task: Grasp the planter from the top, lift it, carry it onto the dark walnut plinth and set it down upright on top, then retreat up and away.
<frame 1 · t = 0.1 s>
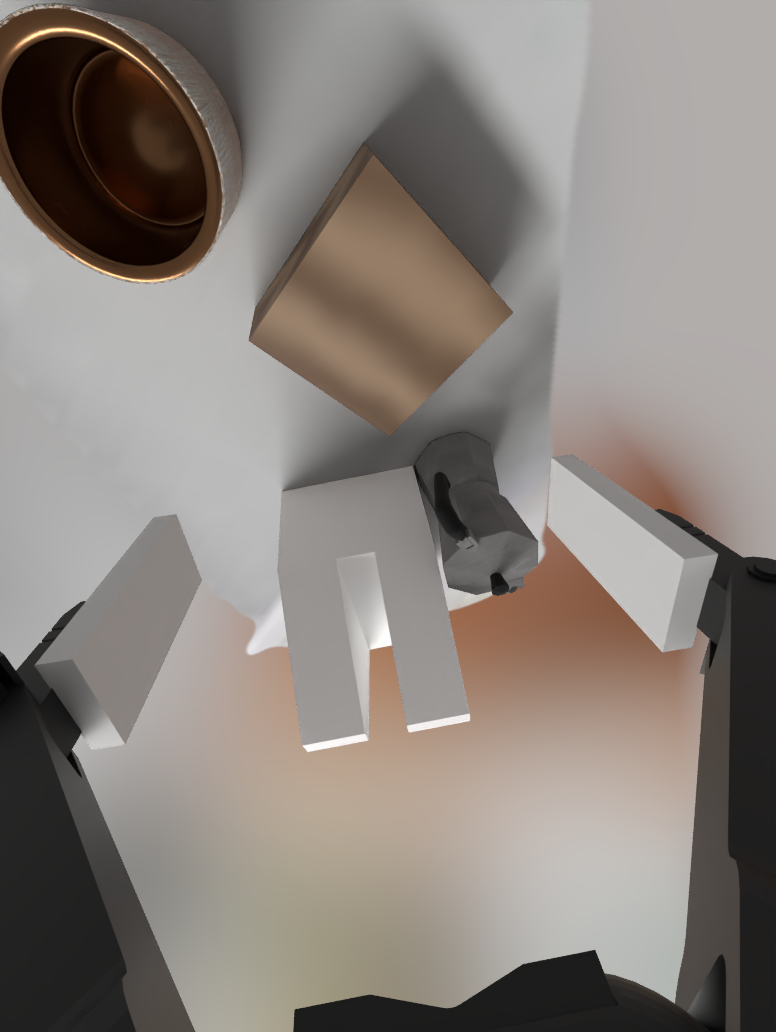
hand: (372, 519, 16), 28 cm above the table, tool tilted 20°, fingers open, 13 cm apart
planter: (156, 144, 28), on the table
white slotted block: (362, 531, 58), on the table
plinth: (374, 296, 37), on the table
coffeepot: (448, 457, 50), on the table
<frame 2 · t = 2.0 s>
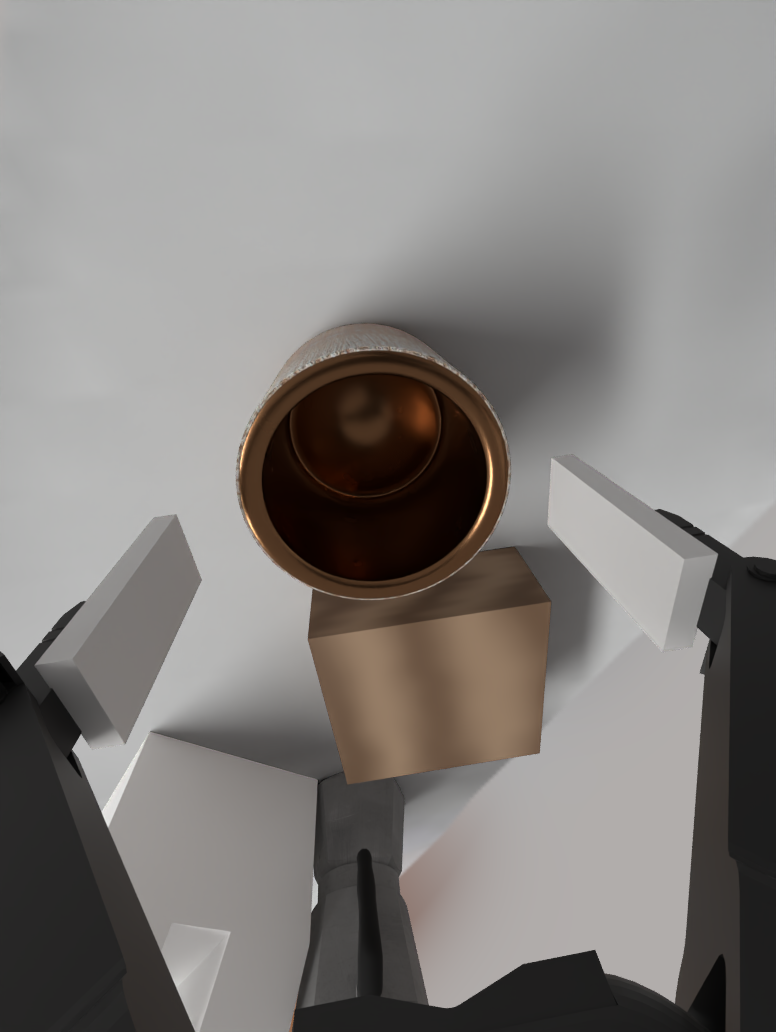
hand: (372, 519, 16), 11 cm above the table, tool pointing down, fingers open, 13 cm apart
planter: (365, 422, 26), on the table
white slotted block: (196, 812, 42), on the table
plinth: (422, 637, 33), on the table
coffeepot: (356, 788, 42), on the table
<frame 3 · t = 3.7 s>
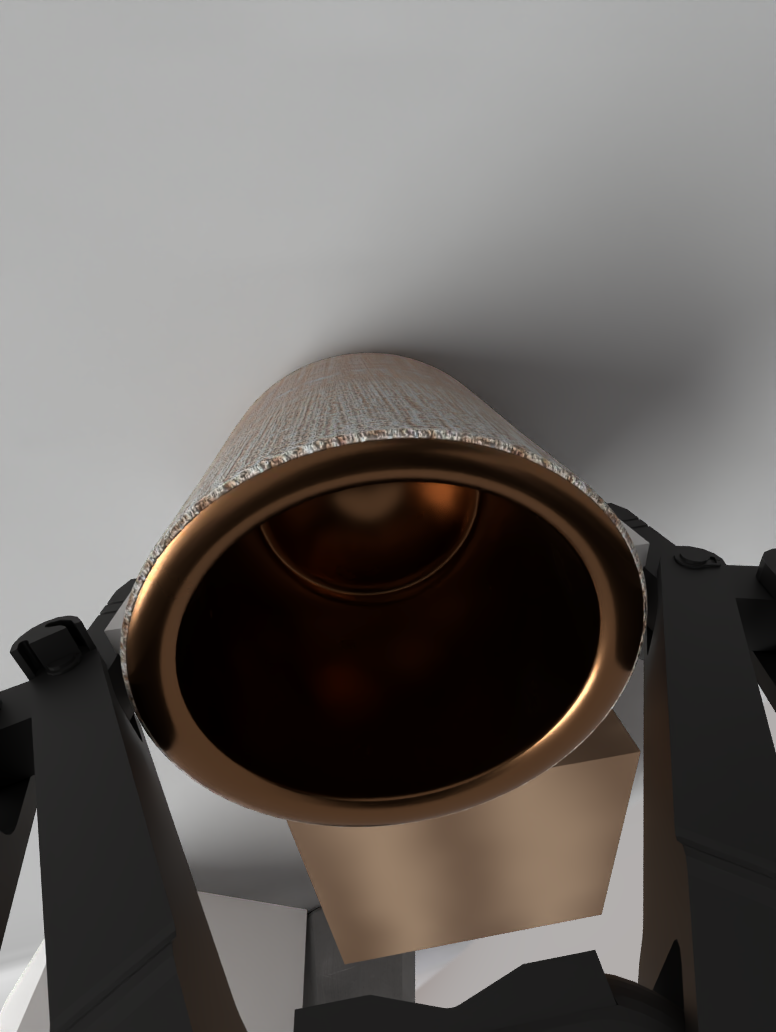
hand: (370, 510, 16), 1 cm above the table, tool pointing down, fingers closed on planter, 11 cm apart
planter: (367, 491, 18), on the table, touching gripper
white slotted block: (155, 949, 33), on the table
plinth: (442, 752, 25), on the table
coffeepot: (356, 914, 34), on the table
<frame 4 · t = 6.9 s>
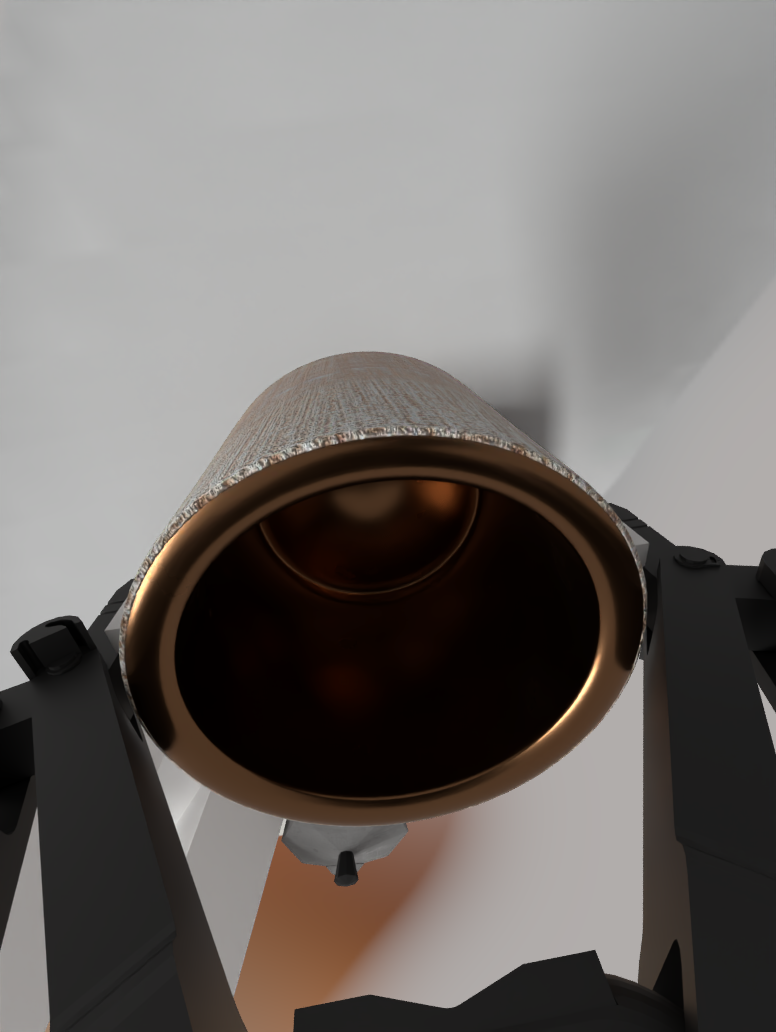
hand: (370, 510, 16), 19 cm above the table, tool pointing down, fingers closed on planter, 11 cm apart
planter: (367, 490, 18), point 17 cm above the table, touching gripper
white slotted block: (197, 693, 45), on the table
coffeepot: (344, 668, 46), on the table
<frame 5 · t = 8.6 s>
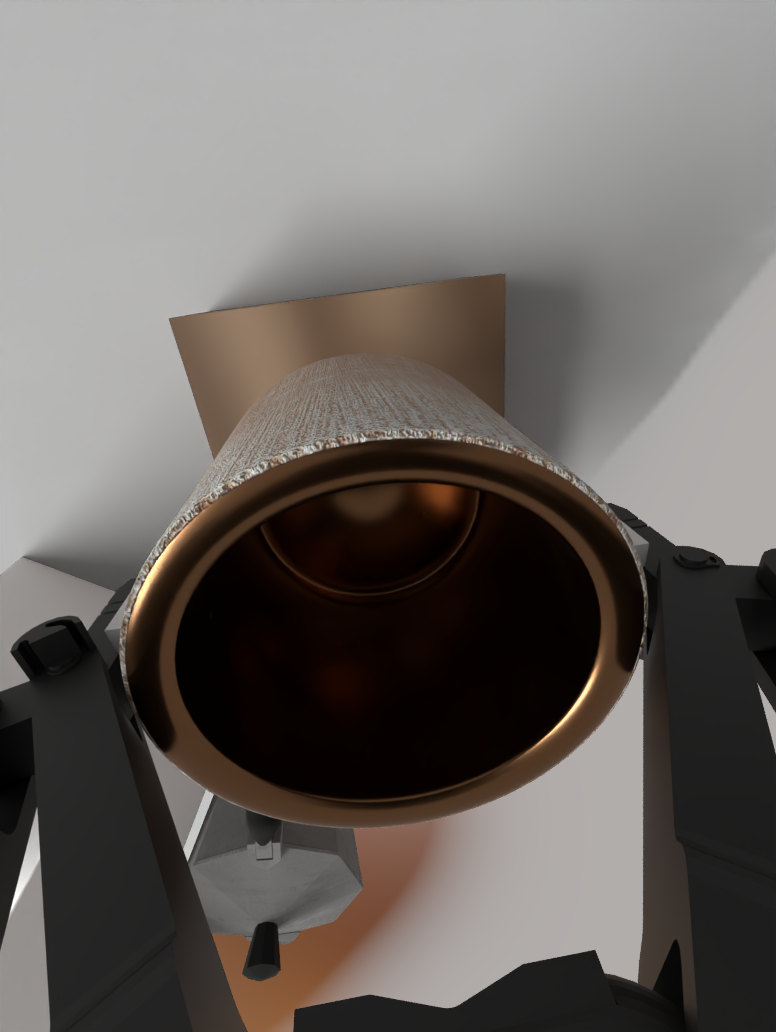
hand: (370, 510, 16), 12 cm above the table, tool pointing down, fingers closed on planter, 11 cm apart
planter: (368, 491, 18), point 10 cm above the table, touching gripper
white slotted block: (100, 685, 34), on the table
plinth: (358, 422, 27), on the table
coffeepot: (294, 656, 35), on the table
when the fingers open (9 cm above the table, at t = 10.1 s): planter drops 2 cm, resting on plinth.
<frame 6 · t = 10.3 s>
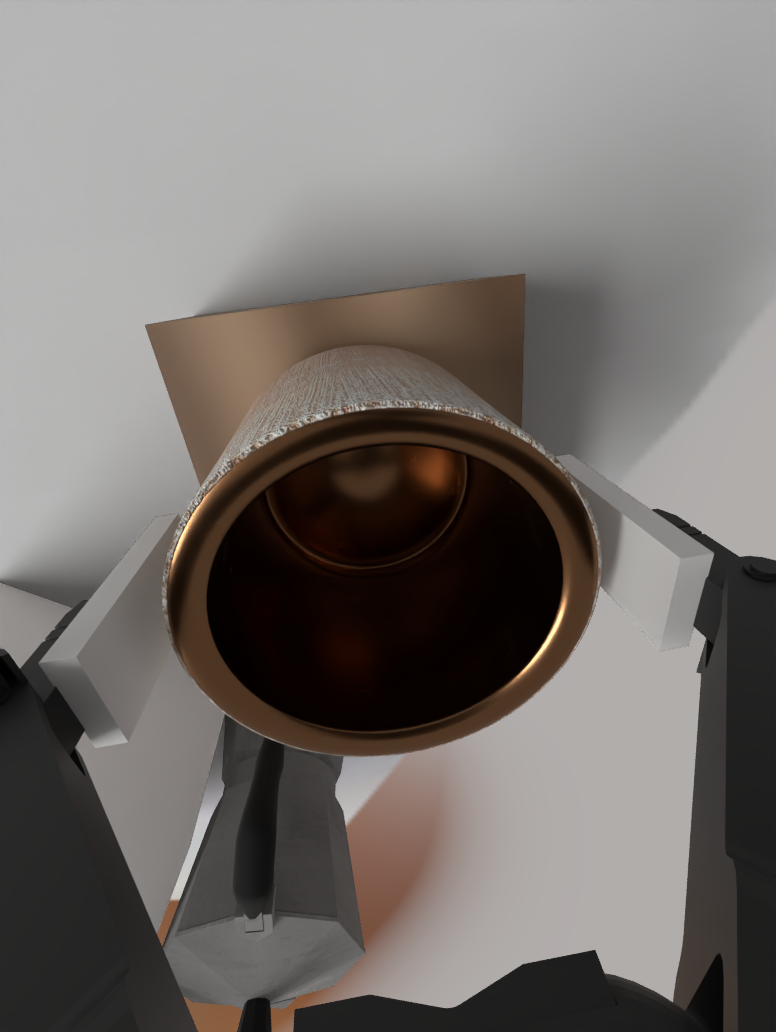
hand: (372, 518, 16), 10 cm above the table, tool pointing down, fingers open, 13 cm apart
planter: (366, 473, 19), point 6 cm above the table, touching plinth
white slotted block: (83, 714, 32), on the table
plinth: (358, 435, 25), on the table
coffeepot: (291, 682, 33), on the table
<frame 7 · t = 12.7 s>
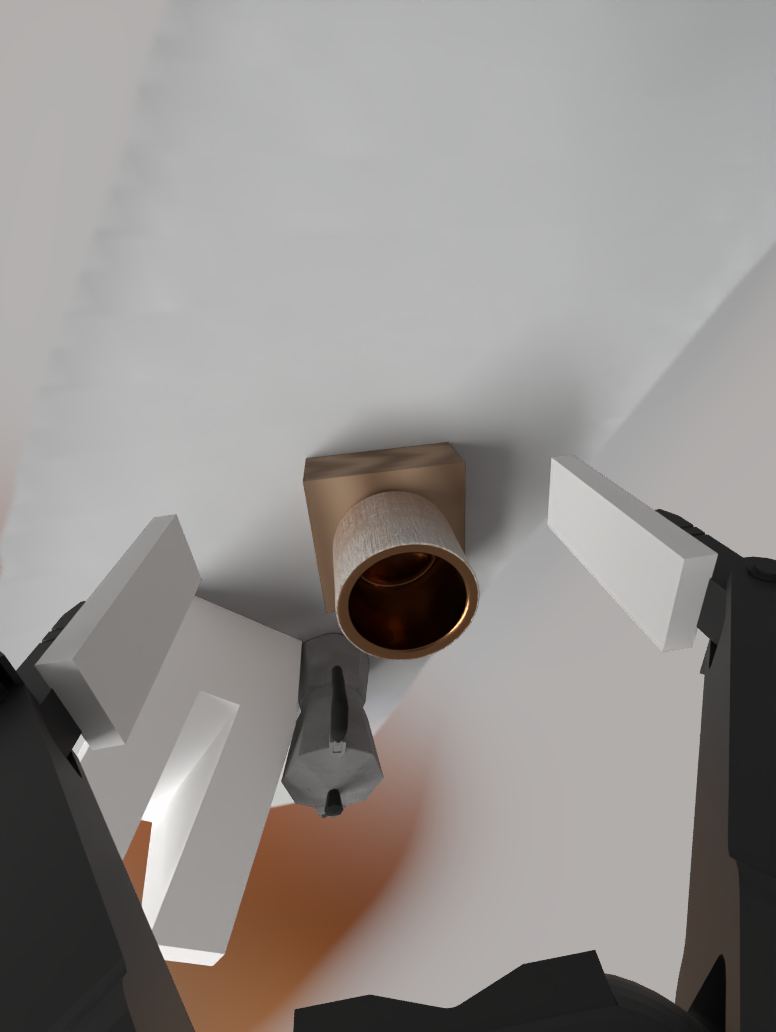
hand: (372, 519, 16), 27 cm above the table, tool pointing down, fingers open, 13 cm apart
planter: (391, 540, 41), point 6 cm above the table, touching plinth
white slotted block: (204, 670, 52), on the table
plinth: (383, 514, 46), on the table
coffeepot: (332, 653, 54), on the table
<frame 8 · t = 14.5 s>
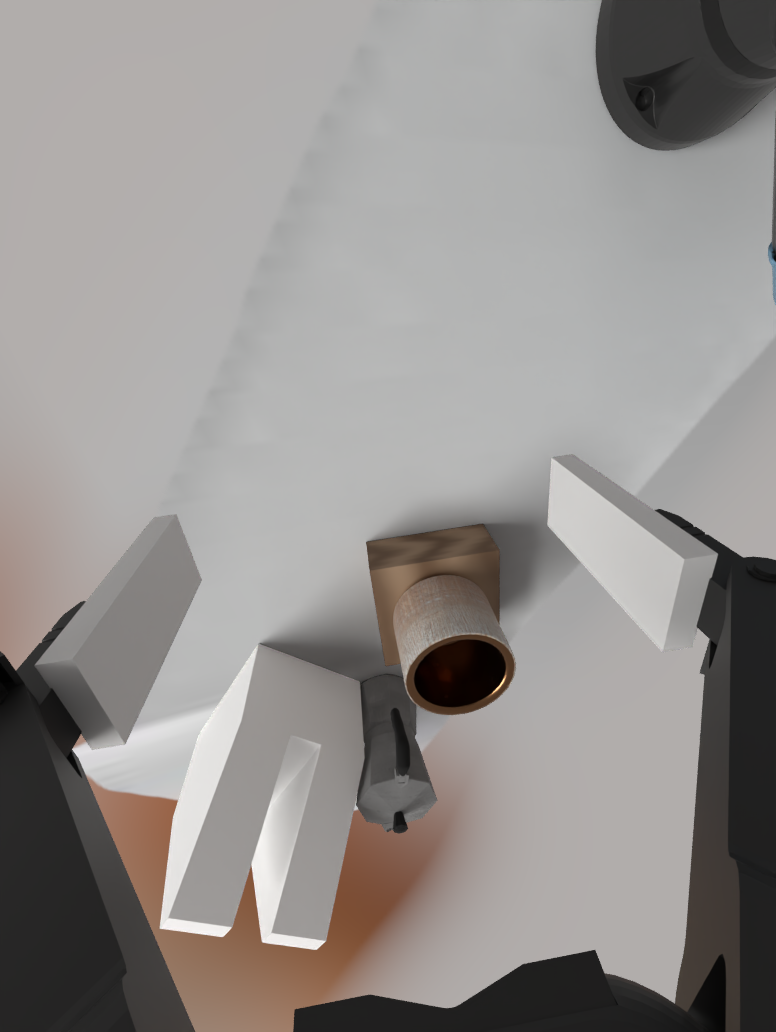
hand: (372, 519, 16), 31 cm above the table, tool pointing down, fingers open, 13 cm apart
planter: (439, 610, 50), point 6 cm above the table, touching plinth
white slotted block: (278, 706, 63), on the table
plinth: (429, 580, 55), on the table
coffeepot: (384, 689, 63), on the table
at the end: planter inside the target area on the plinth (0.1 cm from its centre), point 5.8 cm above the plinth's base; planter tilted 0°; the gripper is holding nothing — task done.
